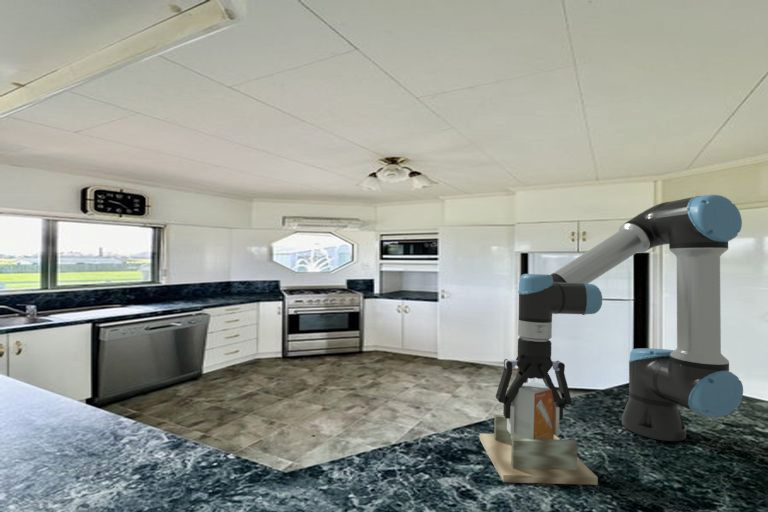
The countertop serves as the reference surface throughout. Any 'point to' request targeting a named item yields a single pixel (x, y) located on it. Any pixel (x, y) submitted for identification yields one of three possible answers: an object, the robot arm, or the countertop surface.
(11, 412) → the countertop surface
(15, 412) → the countertop surface
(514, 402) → the small box
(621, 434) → the countertop surface
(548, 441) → the bookend shelf
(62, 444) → the countertop surface
